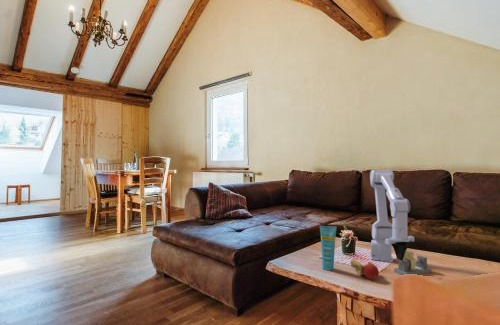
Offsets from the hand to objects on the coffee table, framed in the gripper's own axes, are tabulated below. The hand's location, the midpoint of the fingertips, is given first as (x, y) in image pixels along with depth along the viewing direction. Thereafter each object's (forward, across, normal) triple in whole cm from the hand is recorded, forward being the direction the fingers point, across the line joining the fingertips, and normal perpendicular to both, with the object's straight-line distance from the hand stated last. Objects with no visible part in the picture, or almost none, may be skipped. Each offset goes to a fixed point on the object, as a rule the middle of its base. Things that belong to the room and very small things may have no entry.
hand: (399, 259), depth 124 cm
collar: (+4, +5, 0) cm, 7 cm away
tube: (+7, -24, +17) cm, 30 cm away
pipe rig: (+6, +8, 0) cm, 10 cm away
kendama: (+7, -14, +7) cm, 17 cm away
